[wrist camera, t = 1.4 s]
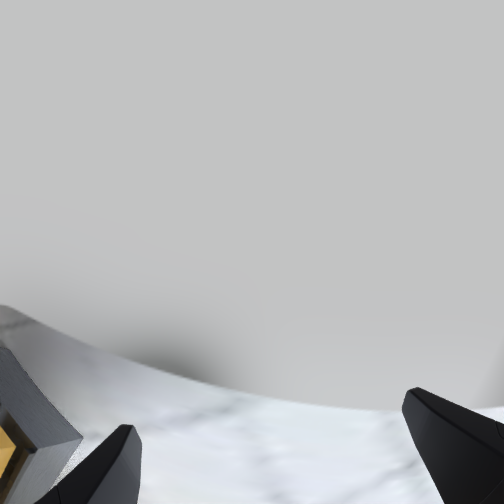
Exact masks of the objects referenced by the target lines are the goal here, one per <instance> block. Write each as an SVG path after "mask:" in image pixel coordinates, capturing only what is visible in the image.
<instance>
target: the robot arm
mask: <svg viewBox="0 0 504 504" xmlns="http://www.w3.org/2000/svg"><path fill="white" fill-rule="evenodd" d="M402 413H403V415H404V418H405V420H406V423H407V426H408V428H409V431H410V433H411V436H412V439H413V441H414V444H415V446H416V448H417V450H418V452H419V454H420V456H421V458H422V460H423V462H424V464H425V465H426V467H427V469H428V471H429V473H430V475H431V477H432V479H433V481H434V483H435V485H436V487H437V489H438V492H439V494H440V496H441V498H442V500H443V502H444V504H504V424H503V423H500V422H498V421H495V420H493V419H490V418H488V417H485V416H483V415H481V414H478V413H476V412H474V411H471V410H469V409H466V408H464V407H462V406H460V405H457V404H455V403H453V402H450V401H448V400H446V399H444V398H441V397H439V396H437V395H435V394H432V393H430V392H428V391H426V390H424V389H421V388H419V387H416V388H413V389H410V390H408V391H407V393H406V396H405V399H404V402H403V405H402ZM141 455H142V442H141V439H140V437H139V435H138V433H137V431H136V429H135V427H134V426H133V425H127V424H122V425H120V426H119V427H118V428H117V429H116V430H115V431H114V432H113V433H112V434H110V435H109V436H108V437H107V438H106V439H105V440H104V441H103V442H102V443H101V444H100V445H99V446H98V447H97V448H96V449H95V450H94V451H92V452H91V453H90V454H89V455H88V456H87V457H86V458H85V459H84V460H83V461H82V462H81V463H80V464H78V465H77V466H76V467H75V468H74V469H73V470H72V471H71V472H70V473H69V474H68V475H67V476H65V477H64V478H63V479H62V480H61V481H60V482H59V483H58V484H57V485H55V486H54V487H53V488H52V489H51V490H50V491H49V492H47V493H46V494H45V495H44V496H43V497H41V498H40V499H39V500H37V501H36V502H35V503H33V504H137V501H138V495H139V488H140V476H141Z"/></svg>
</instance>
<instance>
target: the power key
mask: <svg viewBox="0 0 504 504" xmlns="http://www.w3.org/2000/svg"><path fill="white" fill-rule="evenodd" d="M15 448H16V446H15V445H14V443H13V442H12V441H11V440H10V438H9V437H8V436H7V434H6V433H5V432H4V430H3V429H2V427H1V426H0V478H1V476H2V474H3V472H4V470H5V468H6V466H7V464H8V462H9V460H10V458H11V456H12V454H13V452H14V450H15Z"/></svg>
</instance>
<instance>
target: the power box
mask: <svg viewBox="0 0 504 504" xmlns="http://www.w3.org/2000/svg"><path fill="white" fill-rule="evenodd" d="M0 426H1V427H2V429H3V430H4V432H5V433H6V434H7V436H8V437H9V438H10V440H11V441H12V442H13V443H14V445H15V446H16V448H15V450H14V452H13V454H12V456H11V458H10V460H9V462H8V464H7V466H6V468H5V470H4V472H3V474H2V476H1V478H0V504H33V503H35V502H36V501H37V500H39V499H40V498H41V497H43V496H44V495H45V494H46V493H47V492H48V491H49V489H50V488H51V486H52V485H53V483H54V481H55V480H56V478H57V477H58V475H59V474H60V472H61V471H62V469H63V468H64V466H65V465H66V463H67V462H68V460H69V459H70V457H71V456H72V454H73V453H74V451H75V450H76V448H77V447H78V445H79V444H80V442H81V441H82V439H83V437H82V436H81V435H80V434H79V433H78V432H77V431H76V430H75V429H74V428H73V427H72V426H71V425H70V424H69V423H68V422H67V421H66V419H65V418H64V417H63V416H62V415H61V414H60V413H59V412H58V411H57V410H56V409H55V408H54V406H53V405H52V404H51V403H50V402H49V401H48V400H47V398H46V397H45V396H44V395H43V394H42V392H41V391H40V390H39V389H38V388H37V386H36V385H35V384H34V383H33V381H32V380H31V379H30V377H29V376H28V375H27V373H26V372H25V371H24V369H23V368H22V367H21V365H20V364H19V363H18V361H17V360H16V358H15V357H14V356H13V354H12V353H11V351H10V350H8V349H5V348H1V347H0Z"/></svg>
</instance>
